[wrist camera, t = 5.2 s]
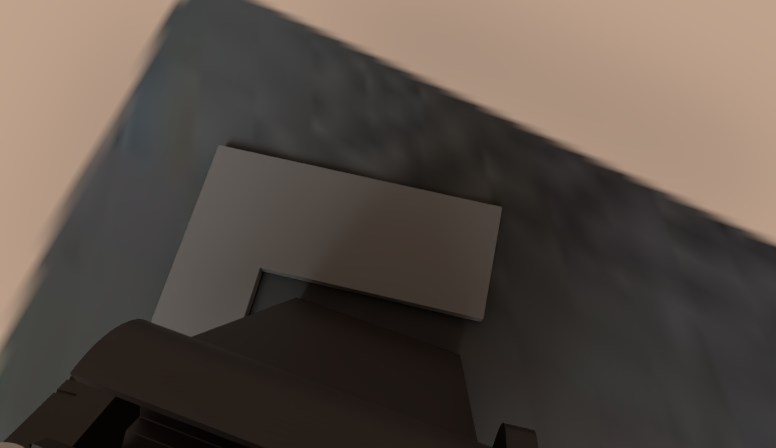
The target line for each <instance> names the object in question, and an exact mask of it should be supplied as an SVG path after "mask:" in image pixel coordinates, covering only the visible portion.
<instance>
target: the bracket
mask: <svg viewBox="0 0 776 448" xmlns="http://www.w3.org/2000/svg"><path fill="white" fill-rule="evenodd" d="M501 212H502V207H499V206H495V205H490V204H486V203H481V202H477V201H472V200H467V199H463V198H458V197H454V196H449V195H445V194H440V193H436V192H431V191H426V190H422V189H417V188H413V187H408V186H404V185H399V184H395V183H390V182H385V181H381V180H376V179H372V178H367V177H363V176H358V175H354V174H349V173H345V172H340V171H335V170H331V169H326V168H322V167H317V166H313V165H308V164H304V163H299V162H294V161H290V160H285V159H281V158H276V157H272V156H267V155H263V154H258V153H253V152H249V151H244V150H240V149H235V148H231V147H226V146H222V145H219V146H218V148H217V151H216V154H215V156H214V159H213V162H212V164H211V167H210V169H209V172H208V175H207V177H206V180H205V182H204V185H203V188H202V190H201V193H200V195H199V198H198V201H197V203H196V206H195V208H194V211H193V214H192V216H191V219H190V221H189V224H188V227H187V229H186V232H185V234H184V237H183V240H182V242H181V245H180V247H179V250H178V253H177V255H176V258H175V260H174V263H173V266H172V268H171V271H170V273H169V276H168V279H167V281H166V284H165V286H164V289H163V292H162V294H161V297H160V299H159V302H158V305H157V307H156V310H155V312H154V315H153V318H152V320H151V322H152V323H154V324H157V325H160V326H163V327H165V328H168V329H171V330H174V331H176V332H179V333H182V334H184V335H187V336H190V337H192V336H195V335H197V334H200V333H203V332H206V331H208V330H211V329H214V328H216V327H219V326H222V325H224V324H227V323H230V322H232V321H235V320H238V319H241V318H243V317H246V316H248V315H249V312H250V309H251V306H252V303H253V300H254V297H255V294H256V291H257V287H258V284H259V281H260V278H261V275H262V272H267V273H271V274H276V275H280V276H284V277H289V278H293V279H297V280H302V281H306V282H310V283H315V284H319V285H323V286H328V287H332V288H336V289H340V290H345V291H349V292H353V293H358V294H362V295H366V296H371V297H375V298H379V299H384V300H388V301H392V302H397V303H401V304H405V305H409V306H414V307H418V308H422V309H427V310H431V311H435V312H440V313H444V314H448V315H453V316H457V317H461V318H466V319H470V320H474V321H479V322H481V321H482V320H483V318H484V312H485V306H486V301H487V295H488V289H489V283H490V277H491V271H492V265H493V259H494V253H495V247H496V242H497V236H498V230H499V224H500V218H501Z"/></svg>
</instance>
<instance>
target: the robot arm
mask: <svg viewBox="0 0 776 448" xmlns="http://www.w3.org/2000/svg"><path fill="white" fill-rule="evenodd" d="M139 417H140V406H139V405H137V404H134V403H132V402H129V401H126V400H124V399H121V398H119V397H116V396H113V395H111V394H108V393H106V392H103V391H100V390H98V389H95V388H92V387H90V386H87V385H85V384H82V383H79V382H77V381H76V380H75V378H74V377H73V376H70V379H69V380H66V381H65V382H64V383H63V384H62V385H61V386H60V387H59V388H58V389H57V392H56V393H53V394H52V395H51V396H50V397H49V398H48V399H47V400H46V401H45V402H44V403H43V404H42V405H41V406H40V407H39V408H38V409H37V410H36V411H35V412H34V413H33V414H32V415H30V416H29V417H28V418H27V419H26V420H25V421H24V422H23V423H22V424H21V425H20V426H19V427H18V428H17V429H16V430H15V431H14V432H13V433H12V434H11V435H10V436H9V437H8V438H7V439H6V440H5V441H4V442H0V448H31V446H32V444H33V443H35V442H37V441H40V440H42V439H44V438H46V437H49V438H52V439H54V440H57V441H59V442H62V443H64V444H67V445H69V446H72V447H74V448H122V444H123V441H124V437H125V433H126V430H127V429H128V428H129V427H130V426H131V425H132V424H133V423H134V422H135V421H136V420H137V419H138V418H139ZM493 448H538V443H537V436H536V433H535V431H534V430H530V429H526V428H522V427H518V426H514V425H509V424H505V423H502V424H501V426H500V428H499V430H498V433H497V436H496V439H495V442H494V445H493Z"/></svg>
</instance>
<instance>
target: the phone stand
mask: <svg viewBox="0 0 776 448" xmlns="http://www.w3.org/2000/svg"><path fill="white" fill-rule="evenodd" d="M71 375H72V376H73V377H74V378H75V380H76V381H77V382H79V383H82V384H85V385H87V386H90V387H92V388H95V389H98V390H100V391H103V392H106V393H108V394H111V395H113V396H116V397H119V398H121V399H124V400H126V401H129V402H132V403H134V404H137V405H139V406H140V417H139V418H138V419H137V420H136V421H135V422H134V423H133V424H132V425H131V426H130V427H129V428H128V429H127V430H126V433H125V437H124V441H123V444H122V448H493V447H490V446H487V445H484V444H482V443H479V442H477V437H476V432H475V427H474V422H473V417H472V413H471V408H470V403H469V398H468V393H467V388H466V383H465V378H464V373H463V369H462V364H461V359H460V355H457V354H454V353H452V352H449V351H446V350H443V349H440V348H437V347H435V346H432V345H429V344H426V343H423V342H420V341H418V340H415V339H412V338H409V337H406V336H403V335H401V334H398V333H395V332H392V331H389V330H386V329H384V328H381V327H378V326H375V325H372V324H369V323H367V322H364V321H361V320H358V319H355V318H352V317H350V316H347V315H344V314H341V313H338V312H335V311H333V310H330V309H327V308H324V307H321V306H318V305H315V304H313V303H310V302H307V301H304V300H301V299H298V298H294V299H292V300H289V301H286V302H284V303H281V304H278V305H276V306H273V307H270V308H267V309H265V310H262V311H259V312H257V313H254V314H251V315H249V316H246V317H243V318H241V319H238V320H235V321H232V322H230V323H227V324H224V325H222V326H219V327H216V328H214V329H211V330H208V331H206V332H203V333H200V334H197V335H195V336H192V337H190V336H187V335H184V334H182V333H179V332H176V331H174V330H171V329H168V328H165V327H163V326H160V325H157V324H154V323H152V322H149V321H146V320H142V319H137V320H132V321H128V322H126V323H124V324H122V325H120V326H118V327H116V328H115V329H113V330H112V331H110V332H109V333H108V334H107V335H105V336H104V337H103V338H102V339H101V340H99V341H98V342H97V343H96V344H95V345H94V346H93V347H92V348H91V349H90V350H89V351H88V352H87V353H86V355H85V356H84V357H83V358H82V359H81V360H80V362H79V363H78V364H77V365H76V366H75V368H74V369H73V370H72V372H71ZM31 448H74V447H72V446H69V445H67V444H64V443H62V442H59V441H57V440H54V439H52V438H49V437H46V438H44V439H42V440H40V441H37V442H35V443H33V444H32V446H31Z"/></svg>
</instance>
